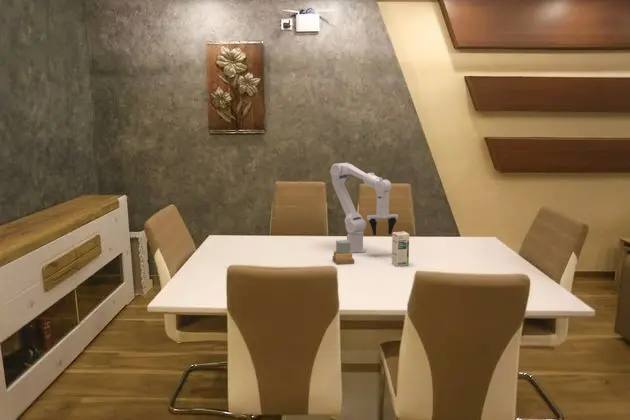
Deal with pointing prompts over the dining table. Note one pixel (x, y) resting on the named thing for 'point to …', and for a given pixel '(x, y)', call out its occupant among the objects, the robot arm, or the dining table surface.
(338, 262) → the walnut base block
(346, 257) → the oak top block
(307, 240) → the dining table surface
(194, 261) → the dining table surface
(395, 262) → the syrup box
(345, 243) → the slate cube
